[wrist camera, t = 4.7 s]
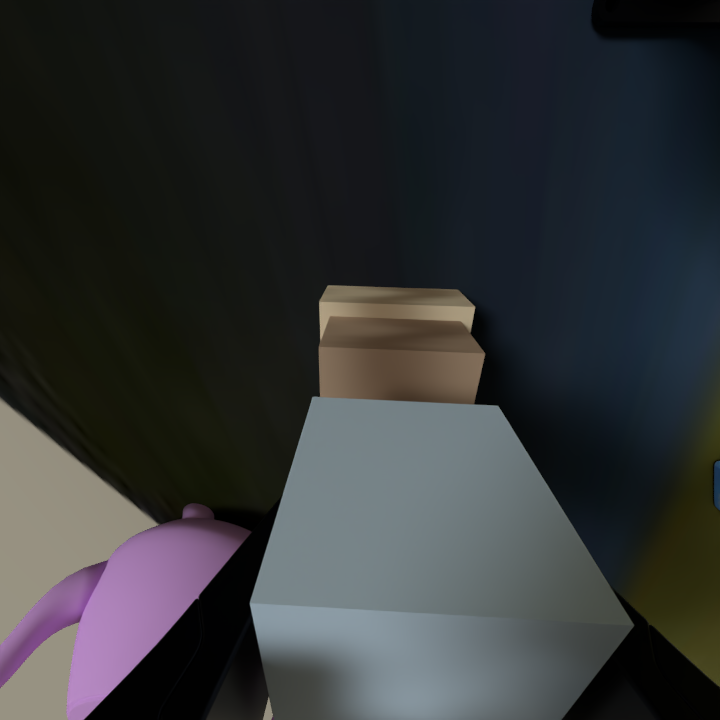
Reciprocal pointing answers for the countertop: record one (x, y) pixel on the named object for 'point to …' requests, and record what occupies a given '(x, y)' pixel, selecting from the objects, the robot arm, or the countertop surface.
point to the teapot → (125, 603)
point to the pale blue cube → (425, 573)
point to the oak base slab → (395, 304)
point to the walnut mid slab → (399, 360)
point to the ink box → (717, 484)
